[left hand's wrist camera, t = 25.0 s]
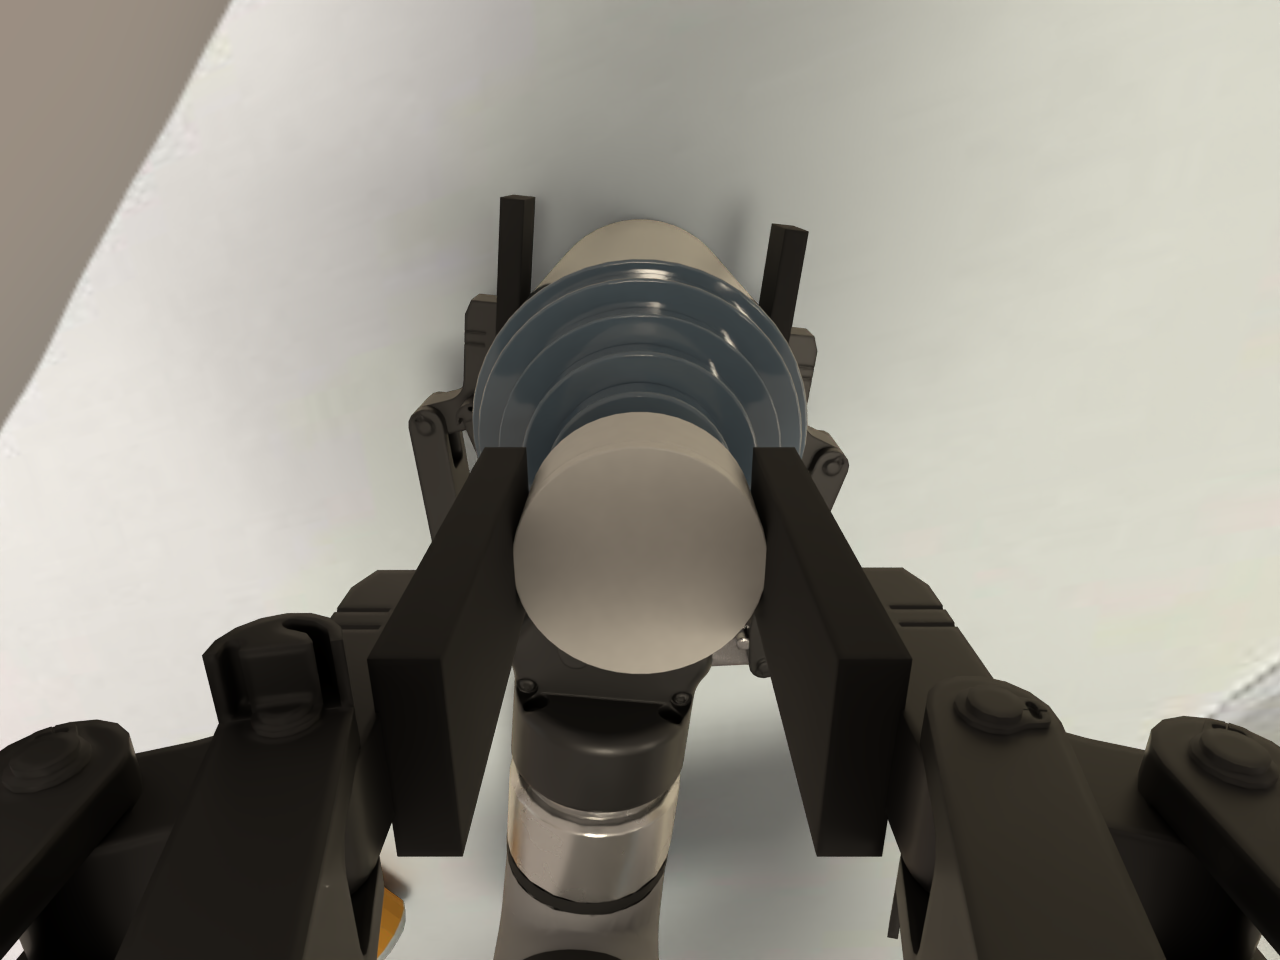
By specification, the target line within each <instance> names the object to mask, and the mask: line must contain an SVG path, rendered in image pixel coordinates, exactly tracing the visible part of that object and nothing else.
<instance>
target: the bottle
mask: <svg viewBox="0 0 1280 960" xmlns="http://www.w3.org/2000/svg"><path fill="white" fill-rule="evenodd" d="M628 412H651V413H659V414H665V415H669V416H673V417H677V418H680V419H682V420H685V421H687V422H690V423H692V424H694V425H696V426H698V427H699V428H701V429H703V430H705V431H706V432H708V433H709V434H710V435H712V436H713V437H714V438H716V439H717V440H718V441H719V442H720V443H721V444H722V445H723V446H724V447H725V448H726V449H727V450H728V451H729V452H730V453H731V455H732V456H733V457H734V459H735V460H736V461H737V463H738V465H739V466H740V468H741V470H742V472H743V473H744V476H745V478H746V481H747V483H748V486H749V489H750V492H751V475H752V458H753V447H795V448H796V450H797V452H798V454H799V456H800V457H801V459H802V457H803V453H804V449H805V444H806V435H807V425H808V422H807V401H806V395H805V389H804V384H803V380H802V377H801V374H800V371H799V367H798V364H797V361H796V359H795V357H794V355H793V353H792V351H791V349H790V347H789V345H788V343H787V341H786V340H785V338H784V337H783V335H782V334H781V332H780V331H779V329H778V328H777V326H776V325H775V323H774V322H773V321H772V320H771V319H770V317H769V316H768V315H767V314H766V313H765V312H764V311H763V310H762V308H761V307H760V306H759V305H758V304H757V303H756V302H755V300H754V299H753V298H752V297H751V296H750V295H749V294H748V292H747V291H746V290H745V289H744V288H743V287H742V286H741V284H740V283H739V282H738V281H737V280H736V279H735V278H734V276H733V275H732V274H731V273H730V272H729V271H728V270H727V268H726V267H725V266H724V265H723V264H722V263H721V262H720V260H719V259H718V258H717V257H716V256H715V255H714V254H713V252H712V251H711V250H710V249H709V248H708V247H707V246H706V245H705V244H704V243H702V242H701V241H700V240H699V239H698V238H696V237H695V236H693V235H692V234H690V233H689V232H687V231H685V230H683V229H681V228H679V227H677V226H674V225H671V224H668V223H665V222H661V221H655V220H647V219H633V220H625V221H620V222H616V223H612V224H609V225H606V226H604V227H601V228H599V229H597V230H595V231H593V232H592V233H590V234H588V235H587V236H585V237H584V238H583V239H581V240H580V241H579V242H577V243H576V244H575V245H574V246H573V247H572V248H571V249H570V250H569V251H568V252H567V253H566V255H565V256H564V257H563V258H562V259H561V260H560V261H559V262H558V264H557V265H556V266H555V267H554V268H553V269H552V270H551V272H550V273H549V274H548V275H547V276H546V277H545V278H544V280H543V281H542V282H541V283H540V284H539V285H538V286H537V288H536V289H535V290H534V291H533V292H532V293H531V294H530V295H529V297H528V298H527V299H526V300H525V301H524V302H523V303H522V305H521V306H520V307H519V308H518V309H517V310H516V311H515V313H514V314H513V315H512V316H511V317H510V318H509V320H508V321H507V322H506V324H505V325H504V326H503V328H502V329H501V331H500V332H499V333H498V335H497V336H496V338H495V340H494V341H493V343H492V345H491V347H490V349H489V351H488V353H487V355H486V357H485V359H484V362H483V365H482V368H481V370H480V373H479V376H478V380H477V385H476V389H475V394H474V402H473V416H472V421H473V437H474V443H475V448H476V453H477V458H479V456H480V455H481V453H482V451H483V449H484V448H485V447H526V450H527V467H528V485H529V491H530V489H531V486H532V483H533V481H534V478H535V475H536V473H537V472H538V470H539V468H540V466H541V464H542V463H543V461H544V460H545V458H546V457H547V456H548V455H549V453H550V452H551V451H552V450H553V449H554V448H555V447H556V446H557V445H558V444H559V443H560V442H561V441H562V440H563V439H564V438H566V437H567V436H568V435H570V434H571V433H572V432H573V431H575V430H577V429H579V428H580V427H582V426H584V425H586V424H588V423H590V422H593V421H595V420H598V419H600V418H603V417H607V416H611V415H615V414H621V413H628Z"/></svg>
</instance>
